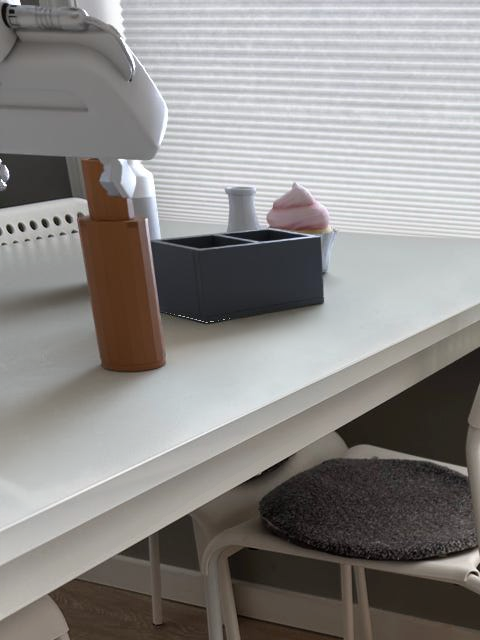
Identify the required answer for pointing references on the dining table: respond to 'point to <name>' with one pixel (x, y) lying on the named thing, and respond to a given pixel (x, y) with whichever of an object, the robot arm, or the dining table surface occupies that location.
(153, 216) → the spray bottle
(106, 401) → the dining table surface
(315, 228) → the cupcake
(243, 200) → the flask
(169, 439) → the dining table surface
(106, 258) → the bottle
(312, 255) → the holder
